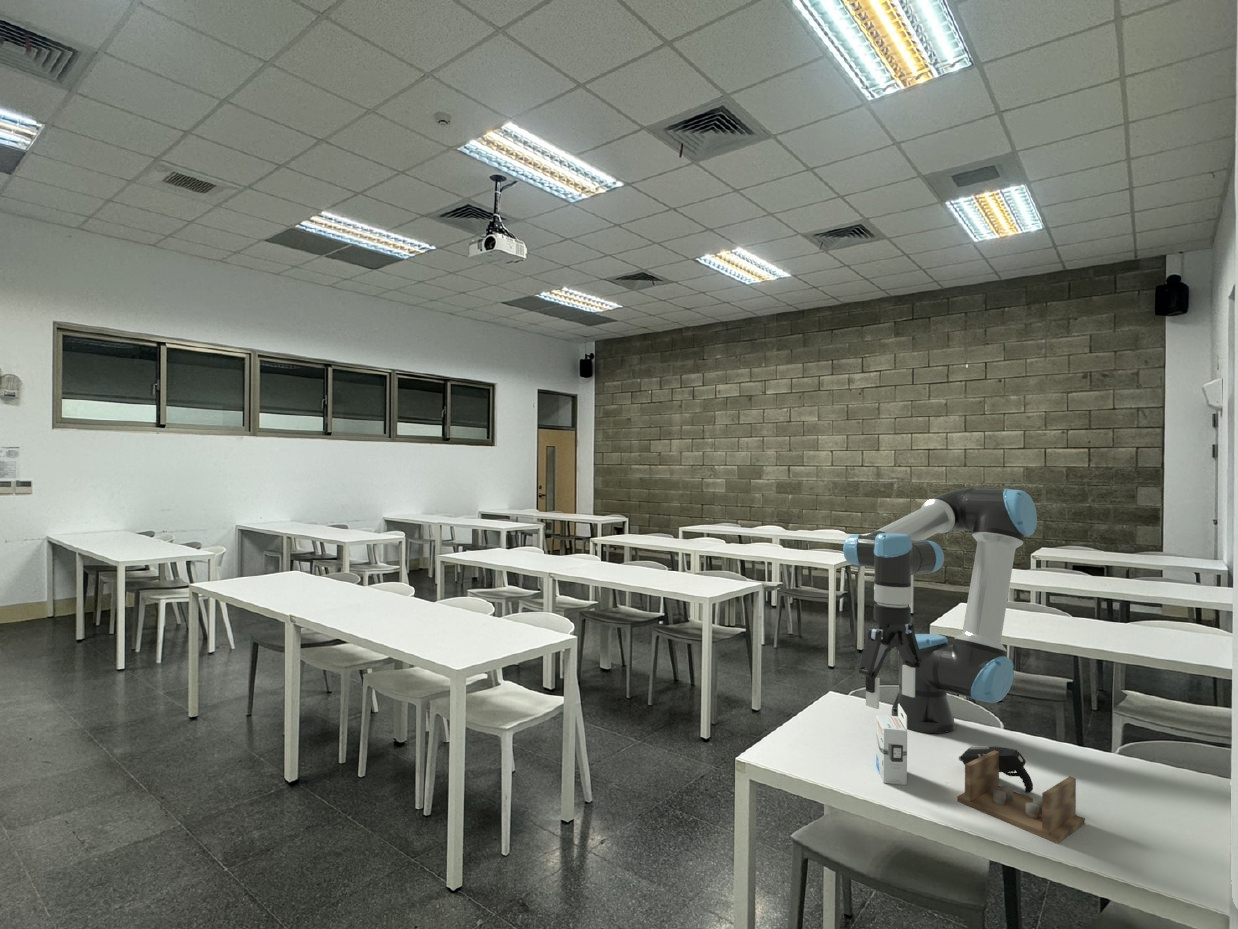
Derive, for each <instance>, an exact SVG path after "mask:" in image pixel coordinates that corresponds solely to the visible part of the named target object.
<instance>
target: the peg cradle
mask: <svg viewBox="0 0 1238 929" xmlns="http://www.w3.org/2000/svg"><path fill="white" fill-rule="evenodd" d="M1076 778H1077V777H1073V776H1071V775H1070V776H1068V777H1066V778H1065V779H1063V780H1061V781H1060V782H1058V783H1056V784H1055V785H1053V786H1052V787H1050V788H1048V789H1047V790H1045V791H1044V792H1042V793H1041V796H1042V797H1041V798H1038V797H1035V798H1033V797H1030V796H1028V795H1026V794H1023V793H1020V792H1017V791H1015V790H1014V789H1013V788H1012V787H1010V786H1008V785H1000V772H999V752H998V751H995V750H994V751H991V752H989V753H987V754H985V755H983V756H981V757H979V758H977V759H975V760H973V761H971V762H969V763H967V764H965V765H964V792H962V793H961V794H959V795H957V799H956V800H957V802H959V803H960V804H963V805H965V806H968V807H969V808H972V809H974V810H977V811H979V812H981V813H984V814H987V815H989V816H991V817H994V818H996V819H998V820H1000V821H1002V822H1005V823H1007V824H1010V825H1012V826H1015V827H1018V828H1020V829H1022V830H1024V831H1027V832H1029V833H1031V834H1033V835H1037V836H1038V837H1040V838H1044V839H1045V840H1048V841H1050V842H1052V843H1055V844H1059V843H1061V842H1062V841H1063V840H1065V839H1066V838H1067V837H1070V835H1071V834H1073V833H1074V832H1075V831H1077V830H1078V829H1080V828H1081V827H1082V826H1084V825H1085V823H1086V822H1085V821H1086V818H1085V817H1082V816H1080V815H1077V813H1076V812H1077V809H1076V808H1077V805H1076V804H1077V779H1076Z"/></svg>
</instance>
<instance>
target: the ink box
mask: <svg viewBox="0 0 1238 929" xmlns="http://www.w3.org/2000/svg"><path fill="white" fill-rule="evenodd" d="M902 715H903V717H904V719H903V717H902ZM875 744H876V749H875V750H876V755H875V756H876V757H875V762H876V764H875V765H876V766H875V767H876V769H877V771H878V772H879V775H880V778H881V780H882V783H884V784H891V785H900V786H907V784H908V770H907V769H908V728H907V715H906V714H905V712H904V710H903V709H902V707H901V706H900V704H898V717H897V716H892V715H887V714H886V715H884V714H876V743H875Z"/></svg>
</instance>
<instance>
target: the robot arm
mask: <svg viewBox="0 0 1238 929" xmlns="http://www.w3.org/2000/svg"><path fill="white" fill-rule="evenodd" d="M1037 514H1038V513H1037V508H1036V506H1035V503H1034V500H1033V499H1032V497H1031V495H1029V493H1028V492H1026V491H1024V490H1023V489H1022V490H1020V489H1011V488H977V487H976V488H973V487H972V488H971V487H967V488H966V487H965V488H958V489H954V490H949V491H948V492H945V493H942V494H940V495H936V496H934V497H932V498H930V499H928V500H926V501H925V502H924V503H923V504H922V505H921V507H920V508H919V509H917V510H915V511H913V512H910V513H908V514H907V515H904V516H903V517H901V518H899V519H897V520H895V521H893V522H891V523H889V524H887V525H885V526H882V527H881V528H879V529H877V530H874V531H872V532H870V533H869V534H865V535H863V534H850V535H849V536H847V537H846V539H845V541H844V542H843V548H842V551H843V557H844V559H845V561H846V562H847V563H849V564H851V565H855V566H858V567H861V568H862V567H865V568H873V569H874V581H873V582H874V585H873V592H874V593H873V600H874V601H875V603H874V604H873V620H874V621H875V622H876V623H877V624H878V627H877V628H876V629H875V628H872V627H871V628H869V629H868V635H867V640H866V643H865V647H864V652H863V655H862V657H861V661H860V664H859V668H858V673H859V674H861V675H863V676H865V706H867V707H870V708H872V709H876V710H878V709H880V685H881V684H880V677H878V675H879V673H880V670H881V668H882V666H883V663H884V661H885V659H886V657H887V654H888V653H889V652H891V651H892V649H895V648H896V650H897V651H898V652H897V653H898V692H897V695H896V697H895V700H894V702H893V705H892V706H891V707H892V708H891V716H897V717H898V704H900V706H901V707H902V709H903V710H904V712H905V714H906V715H907V730H908V729H909V730H912V731H916V732H921V733H927V734H944V733H945V734H946V733H949V732H952V731H953V730H954V729H955V719H954V718H955V716H953V715H954V714H953V711H952V708H951V705H950V702H949V700H948V694H947V693H948V692H950V693H952V694H957V695H959V696H963V697H966V698H969V699H972V700H975V701H978V702H979V701H981V702H984V703H985V702H986V703H989V704H995V703H998V702H1000V701H1002V700H1003V699H1004V698H1005V697H1007V695H1008V693H1009V691H1010V689H1011V687H1012V683H1013V682H1014V681H1013V680H1014V677H1015V670H1014V668H1015V667H1014V663H1013V661H1012V660H1011V659H1010V658H1009V657H1007V651H1008V650H1007V648H1005V646H1004V645H1003V643H1002V636H1003V629H1004V623H1005V618H1006V617H1005V616H1006V612H1007V611H1006V610H1007V605H1008V600H1009V599H1008V597H1009V592H1010V586H1011V578H1012V572H1013V565H1014V561H1015V554H1016V549H1018V548H1020V547H1021V546H1023V545H1024V543H1025V542H1024V540H1025V537H1029V536H1032V535H1033V534H1034V533H1035V531H1036V529H1037V526H1038V516H1037ZM950 531H967V532H968V531H969V532H972V533H971V534H972V535H971V537H973V539H974V540H975V541H976V550H975V555H974V560H973V561H974V562H973V566H972V573H971V580H970V584H969V591H968V597H967V603H966V608H965V613H964V614H965V615H964V620H963V626H962V632H961V633H960V634H958V635H956V636H955V637H954V640H953V644H949V640H948V638H947V637H946V636H944V635H941V634H933V633H915V625H914V623H911V620H912V618H911V616H912V614H911V613H912V609H911V608H912V607H910V606H909V605H911V603H912V576H913V575H914V576H915V575H928V574H931V573H934V572H937V571H939V570H940V569H941V568H942V566H943V565H944V562H945V554H944V551H943V549H942V547H941V546H940V545H939V544H938V543H936V542H935V541H932V540H927V539H929V538H930V537H932V536H934V535H936V534H945V533H947V532H950ZM902 717H903V715H902ZM903 719H904V717H903Z"/></svg>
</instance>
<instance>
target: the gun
mask: <svg viewBox="0 0 1238 929" xmlns="http://www.w3.org/2000/svg"><path fill="white" fill-rule="evenodd" d="M994 750H995V751H998V752H999V773H1003V774H1004V775H1006V776H1007V777H1019V778H1020V779H1021V780H1022V784H1023V786H1024V790H1025V791H1024V792H1025V793H1031V792H1032V791H1033V789H1034V784H1033V781H1032V779H1031V776H1030V774H1029V773H1028V771H1027V770H1026V768H1025V765H1026V762H1027V761H1026V760H1025V758H1024V756H1023V755H1022V753H1020V752H1019V751H1018V749H1014V748H1008V747H1001V746H989V745H988V746H987V745H983V746H982V745H980V746H970V747H968V748H967V749H966V750H965V751H964V752H963V753H962V754H961V755H959V756H958V761H960V762H961V763H963V765H964V766H965V764H967V763H969V762H971V761H973V760H975V759H977V758H979V757H981V756H983V755H985V754H987V753H989V752H991V751H994Z"/></svg>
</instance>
